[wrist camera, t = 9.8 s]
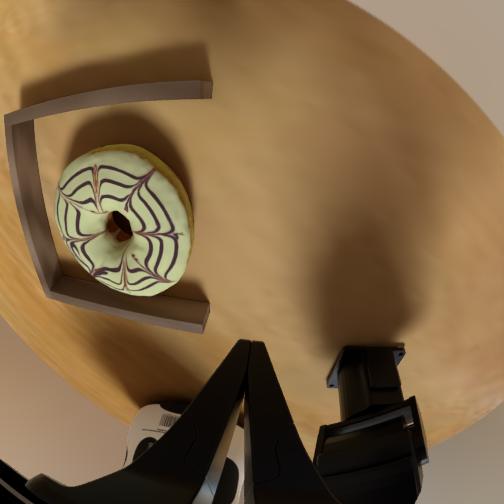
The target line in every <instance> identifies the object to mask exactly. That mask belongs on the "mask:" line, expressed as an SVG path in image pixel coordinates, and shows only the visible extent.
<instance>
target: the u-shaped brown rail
mask: <svg viewBox="0 0 504 504" xmlns="http://www.w3.org/2000/svg"><path fill="white" fill-rule="evenodd" d="M212 87H213V82H209V81H203V80H187V81H167V82H154V83H143V84H134V85H126V86H119V87H112V88H106V89H100V90H94V91H89V92H84V93H79V94H75V95H70V96H66V97H62V98H58V99H54V100H50V101H46V102H43V103H39V104H36V105H32V106H29V107H26V108H23V109H20V110H17V111H14V112H11V113H8V114H5V115H4V123H5V136H6V146H7V154H8V162H9V168H10V175H11V180H12V186H13V191H14V196H15V200H16V205H17V209H18V213H19V217H20V221H21V225H22V229H23V232H24V236H25V239H26V242H27V246H28V249H29V252H30V255H31V258H32V261H33V264H34V267H35V269H36V272H37V275H38V277H39V280H40V283H41V285H42V288H43V290H44V293H45V295H46V297H48V298H51V299H54V300H57V301H61V302H64V303H67V304H71V305H74V306H78V307H82V308H85V309H89V310H93V311H96V312H100V313H104V314H108V315H112V316H116V317H121V318H125V319H129V320H133V321H138V322H143V323H147V324H152V325H157V326H162V327H167V328H172V329H177V330H183V331H188V332H194V333H200V334H203V332H204V329H205V326H206V323H207V319H208V316H209V313H210V303H208V302H201V301H195V300H188V299H182V298H176V297H170V296H164V295H158V294H156V295H153V296H136V295H130V294H127V293H124V292H120V291H118V290H115V289H112V288H110V287H109V286H107V285H105V284H100V283H96V282H91V281H86V280H82V279H77V278H73V277H68V276H64V275H63V272H62V269H61V266H60V263H59V259H58V256H57V253H56V249H55V246H54V242H53V238H52V235H51V231H50V227H49V223H48V219H47V214H46V210H45V205H44V200H43V195H42V190H41V184H40V178H39V171H38V164H37V157H36V148H35V137H34V124H33V119H36V118H40V117H44V116H49V115H53V114H58V113H63V112H68V111H73V110H78V109H84V108H91V107H97V106H104V105H112V104H120V103H130V102H141V101H156V100H178V99H209V98H212Z"/></svg>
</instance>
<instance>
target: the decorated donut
mask: <svg viewBox="0 0 504 504" xmlns="http://www.w3.org/2000/svg"><path fill="white" fill-rule="evenodd" d="M113 211H119V212H120V213H121V214H123V215H124V216H125V217H126V218H127V219H128V220H129V221H130V224H131V229H132V232H133V235H132V236H131V235H128V234H127V233H125V232H123V231H122V230H121V229H120V228H119V227H118V226H117V225H116V224H115V221H114V219H113V215H112V213H113ZM54 217H55V220H56V223H57V226H58V228H59V230H60V233H61V236H62V239H63V241H64V243H65V244H66V246H67V247H68V249H69V250H70V252H71V253H72V254H73V255H74V257H75V258H76V260H77V261H78V262H79V264H80V265H81V266H82V267H83V268H84V269H85V270H86V271H87V272H88V273H89V274H91V275H92V276H93V277H94V278H95V279H97V280H99V281H100V282H102V283H103V284H105V285H107V286H109V287H110V288H112V289H115V290H118V291H120V292H124V293H127V294H130V295H136V296H153V295H156V294H158V293H160V292H162V291H164V290H166V289H167V288H169V287H171V286H172V285H174V284H176V283H177V282H178V281H179V279H180V278H181V276H182V275H183V273H184V272H185V270H186V266H187V264H188V261H189V258H190V256H191V252H192V248H193V242H194V218H193V211H192V208H191V204H190V200H189V198H188V194H187V193H186V190H185V189H184V187H183V185H182V183H181V181H180V179H179V178H178V177H177V176H176V175H175V173H174V172H173V171H172V170H171V169H170V167H169V166H167V165H166V164H165V163H164V162H163V161H161V160H160V159H159V158H158V157H156V156H155V155H153V154H152V153H150V152H149V151H147V150H145V149H144V148H142V147H139V146H135V145H131V144H116V145H106V146H104V147H99V148H96V149H94V150H91V151H90V152H88V153H86V154H83V155H82V156H80V157H78V158H77V159H75V160H74V161H73V162H71V163H70V164H69V165H68V166H67V167H66V168H65V170H64V172H63V174H62V177H61V178H60V180H59V182H58V186H57V191H56V197H55V210H54Z"/></svg>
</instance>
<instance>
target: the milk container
mask: <svg viewBox="0 0 504 504" xmlns="http://www.w3.org/2000/svg"><path fill="white" fill-rule="evenodd" d="M188 406H189V405H187V404H180V403H174V402H156V403H151V404H148V405H145V406H144V407H142V408H141V409H140V410H139V411H138V412H137V414H136V415H135V417H134V418H133V420H132V422H131V424H130V427H129V430H128V435H127V452H126V458H125V462H124V465H123V468H125V467H126V466H128V465H129V464H131V463H132V462H133V461H135V460H136V459H137V458H138V457H139V456H141V455H142V454H143V453H144V452H145V451H146V450H147V449H148V448H150V447H151V446H152V445H153V444H154V443H155V442H156V441H157V440H158V439H159V438H161V437H162V436H163V435H164V434H165V433H166V432H167V431H168V430H169V429H170V428H171V426H172V425H173V424H174V423H175V422H176V421H177V419H178V418H179V417H180V416H181V415H182V413H183V412H184V411H185V410H187V407H188ZM123 468H122V469H123ZM243 482H244V428H243V427H242V426H241V425H240V424H238V423H237V424H236V427H235V430H234V434H233V437H232V440H231V444H230V447H229V450H228V454H227V457H226V460H225V463H224V466H223V470H222V473H221V476H220V479H219V482H218V485H217V488H216V492H215V495H214V497H213V501H212V504H239V496H240V491H241V487H242V484H243Z"/></svg>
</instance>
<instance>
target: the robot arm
mask: <svg viewBox="0 0 504 504" xmlns="http://www.w3.org/2000/svg"><path fill="white" fill-rule="evenodd" d="M405 353H406V352H405V349H404V348H384V347H353V346H347V347H345V348H343V349H342V352H341V354H340V356H339V358H338V360H337V362H336V364H335V366H334V369H333V371H332V373H331V375H330V377H329V379H328V381H327V387H328V388H338V391H339V402H340V415H341V422H338V423H334V424H330V425H322V426H320V429H319V434H318V438H317V443H316V448H315V453H314V458H313V463H312V461H311V459H310V457H309V456H308V454H307V452H306V450H305V448H304V446H303V444H302V441H301V439H300V437H299V434H298V432H297V429H296V427H295V424H293V423H294V422H293V419H292V416H291V414H290V411H289V408H288V406H287V403H286V400H285V398H284V395H283V392H282V390H281V387H280V384H279V382H278V379H277V376H276V374H275V371H274V368H273V365H272V363H271V360H270V357H269V355H268V352H267V349H266V346H265V344H264V342H262V341H252V342H251V341H250V340H246V339H239V340H238V341H237V343H236V344H235V345H234V347H233V348H232V349H231V351H230V352H229V353H228V355H227V356H226V357H225V359H224V360H223V361H222V363H221V364H220V365H219V367H218V368H217V369H216V371H215V372H214V373H213V375H212V376H211V377H210V379H209V380H208V381H207V383H206V384H205V385H204V387H203V388H202V389H201V390H200V392H199V393H198V394H197V396H196V397H195V398H194V399H193V401H192V402H191V403H190V405H189V406H188V407H187V410H185V411H184V412H183V413H182V415H181V416H180V417H179V418H178V419H177V421H176V422H175V423H174V424H173V425H172V426H171V428H170V429H169V430H168V431H167V432H166V433H165V434H164V435H163V436H162V437H161V438H159V439H158V440H157V441H156V442H155V443H154V444H153V445H152V446H151V447H150V448H148V449H147V450H146V451H145V452H144V453H143V454H142V455H141V456H139V457H138V458H137V459H136V460H135V461H133V462H132V463H131V464H129V465H128V466H126V467H125V468H123V469H121V470H119V471H117V472H114V473H112V474H109V475H107V476H104V477H102V478H99V479H96V480H93V481H91V482H88V483H85V484H82V485H79V486H75V487H68V486H66V485H64V484H62V483H60V482H58V481H56V480H54V479H52V478H51V477H49V476H47V475H45V474H42V473H41V474H39V475H37V476H35V477H34V478H32V479H30V480H29V479H27V478H26V477H24V476H23V475H21V474H20V473H19V472H18V471H16V470H15V469H14V468H12V467H11V466H10V465H8V464H7V463H5V462H4V461H2V460H1V459H0V504H212V501H213V497H214V495H215V492H216V488H217V485H218V482H219V479H220V476H221V473H222V470H223V466H224V463H225V460H226V457H227V454H228V450H229V447H230V444H231V440H232V437H233V434H234V430H235V427H236V424H237V420H238V417H239V413H240V410H241V407H242V403H243V399H244V500H245V502H244V504H415V502H416V500H417V498H418V496H419V494H420V492H421V488H422V481H423V471H422V465H424V464H427V463H429V459H428V458H429V457H428V449H427V442H426V435H425V430H424V425H423V421H422V417H421V413H420V410H419V407H418V404H417V401H416V398H415V395H414V396H412V397H409V399H407V400H404V398H403V393H402V389H401V380H400V376H399V373H398V369H397V366H398V364H399V363H400V361H401V360H402V358H403V357H404V355H405ZM244 394H245V396H244ZM412 422H414V424H412V425H409V426H407V424H409V423H412Z"/></svg>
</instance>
